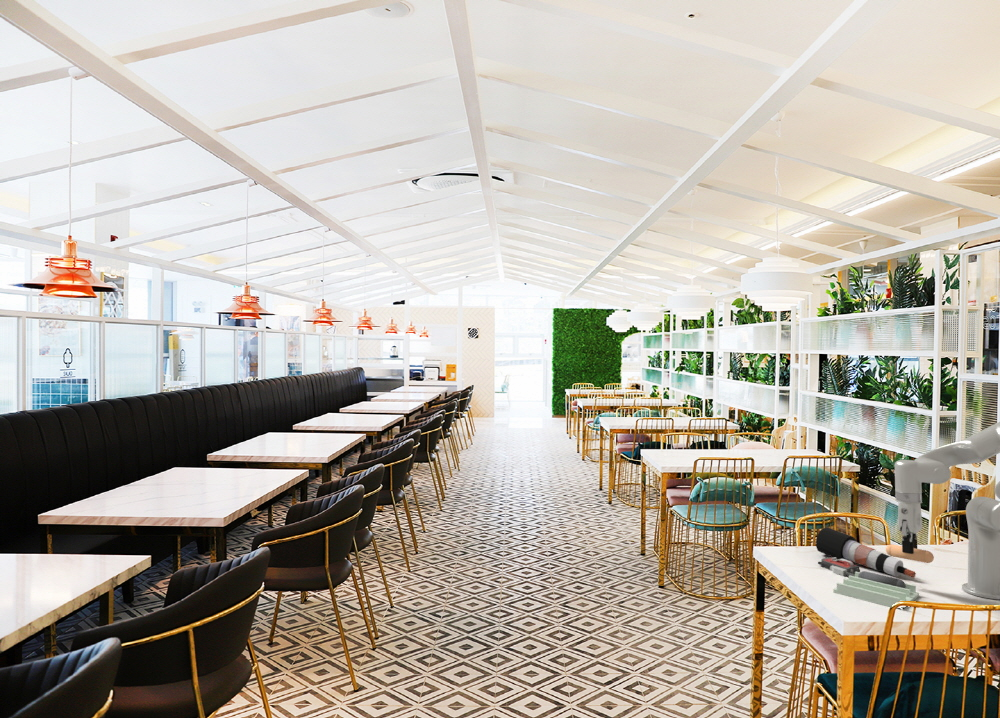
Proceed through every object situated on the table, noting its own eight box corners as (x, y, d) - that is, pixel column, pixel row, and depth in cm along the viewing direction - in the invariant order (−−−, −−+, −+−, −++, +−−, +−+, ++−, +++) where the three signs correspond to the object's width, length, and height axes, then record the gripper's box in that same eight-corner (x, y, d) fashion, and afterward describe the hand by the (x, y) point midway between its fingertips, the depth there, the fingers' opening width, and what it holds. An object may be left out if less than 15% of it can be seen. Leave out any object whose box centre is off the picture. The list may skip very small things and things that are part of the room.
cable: (908, 594, 224) (903, 571, 221) (818, 557, 254) (813, 536, 251) (924, 577, 228) (920, 555, 225) (834, 543, 258) (829, 522, 255)
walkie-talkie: (813, 567, 240) (864, 584, 222) (813, 555, 240) (864, 571, 222) (829, 564, 243) (880, 580, 225) (829, 552, 243) (880, 568, 225)
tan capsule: (935, 562, 214) (935, 550, 214) (932, 565, 211) (931, 553, 211) (888, 553, 224) (887, 542, 224) (884, 556, 221) (884, 544, 221)
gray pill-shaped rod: (907, 591, 211) (907, 579, 211) (903, 594, 209) (903, 582, 209) (860, 580, 221) (860, 568, 222) (856, 583, 219) (856, 571, 219)
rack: (919, 596, 210) (919, 586, 210) (902, 610, 198) (902, 599, 198) (852, 580, 225) (852, 570, 225) (833, 592, 212) (833, 582, 212)
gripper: (914, 502, 209) (915, 559, 209) (928, 494, 221) (929, 548, 220) (888, 499, 215) (889, 554, 215) (903, 492, 226) (904, 544, 226)
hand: (909, 551), depth 217 cm, fingers closed on tan capsule, 3 cm apart
